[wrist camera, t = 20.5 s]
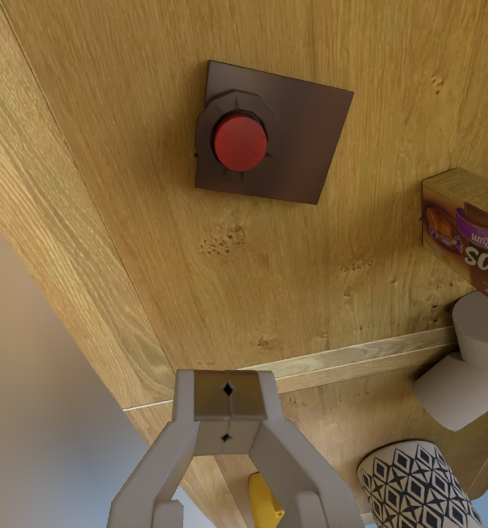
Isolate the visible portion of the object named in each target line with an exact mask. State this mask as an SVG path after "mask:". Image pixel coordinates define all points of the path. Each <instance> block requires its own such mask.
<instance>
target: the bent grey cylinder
mask: <svg viewBox="0 0 488 528" xmlns="http://www.w3.org/2000/svg"><path fill="white" fill-rule="evenodd" d="M452 318H453V322H454V326H455V330H456V335H457V339H458V343H459V347H460V351H459V352H452V353H450V354H448V355H447V356H446V357H445V358H443V359H442V360H441V361H440V362H438V363H437V364H436V365H435V366H433V367H432V368H431V369H430V370H428V371H427V372H426V373H425V374H424V375H422V376H421V377H420V378H419V379H417V380H416V381H415V382H414V383H413V391H414V393H415V395H416V397H417V399H418V400H419V402H420V403H421V405H422V406H423V407H424V408H425V410H426V411H427V412H428V413H429V414H430V415H431V416H432V417H433V418H434V419H435V420H436V421H437V422H439V423H440V424H441V425H443V426H444V427H446V428H447V429H449V430H452V431H458V430H460V429H461V428H463V427H464V426H466V425H467V424H469V423H470V422H472V421H473V420H475V419H476V418H478V417H479V416H481V415H482V414H484V413H485V412H487V411H488V297H486V296H485V295H484V294H483V293H481V292H480V291H475V292H472V293H470V294H467V295H465V296H464V297H462V298H461V299H460V300H459V301H458V302H457V303H456V304H455V306H454V308H453V312H452Z"/></svg>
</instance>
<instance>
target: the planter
mask: <svg viewBox="0 0 488 528" xmlns="http://www.w3.org/2000/svg"><path fill="white" fill-rule="evenodd" d="M357 473H358V477H359V480H360V483H361V485H362V488H363V491H364V493H365V496H366V499H367V501H368V504H369V507H370V509H371V512H372V515H373V517H374V520H375V522H376V525H377V528H486V526H485V525H484V523H483V521H482V520H481V518H480V517H479V515H478V513H477V512H476V510H475V508H474V507H473V505H472V503H471V502H470V500H469V498H468V497H467V495H466V493H465V492H464V490H463V488H462V487H461V485H460V484H459V482H458V480H457V479H456V477H455V475H454V474H453V472H452V470H451V469H450V467H449V466H448V464H447V462H446V461H445V459H444V457H443V456H442V454H441V453H440V451H439V449H438V448H437V446H435V445H434V444H432V443H430V442H426V441H420V440H410V441H403V442H398V443H394V444H391V445H388V446H385V447H383V448H381V449H379V450H377V451H375V452H373V453H372V454H370V455H369V456H368V457H366V458H365V459H364V460H363V462H362V463H361V464H360V466H359V468H358V471H357Z"/></svg>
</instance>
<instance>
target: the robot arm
mask: <svg viewBox="0 0 488 528" xmlns="http://www.w3.org/2000/svg"><path fill="white" fill-rule="evenodd" d="M220 454H249V457H250V459H251V460H252V462H253V463H254V465H255V466H256V468H257V470H258V471H259V473H260V474H261V476H262V478H263V479H264V481H265V482H266V484H267V485H268V487H269V489H270V490H271V492H272V493H273V495H274V496H275V498H276V500H277V501H278V503H279V504H280V506H281V508H282V509H283V511H284V512H285V513H284V515H283V517H282V518H281V520H280V522H279V523H278V525H277V526H276V528H365V527H364V524H363V522H362V519H361V516H360V513H359V510H358V508H357V505H356V502H355V499H354V496H353V494H352V491H351V488H350V486H349V485H348V484H347V483H346V482H345V481H344V480H343V478H342V477H341V476H340V475H339V474H338V473H337V472H336V471H335V470H334V468H333V467H332V466H331V465H330V464H329V463H328V462H327V461H326V460H325V458H324V457H323V456H322V455H321V454H320V453H319V452H318V451H317V450H316V449H315V447H314V446H313V445H312V444H311V443H310V442H309V441H308V440H307V439H306V437H305V436H304V435H303V434H302V433H301V432H300V431H299V430H298V429H297V427H296V426H295V425H294V424H293V423H292V422H291V421H290V420H287V419H285V418H284V414H283V410H282V406H281V402H280V398H279V394H278V390H277V386H276V382H275V378H274V374H273V373H272V371H255V370H225V371H217V370H193V369H177V372H176V380H175V389H174V399H173V409H172V422H168V423H167V424H166V426H165V427H164V429H163V430H162V432H161V433H160V434H159V436H158V437H157V439H156V440H155V441H154V443H153V444H152V446H151V447H150V449H149V450H148V451H147V453H146V454H145V456H144V457H143V459H142V460H141V461H140V463H139V464H138V466H137V467H136V468H135V470H134V471H133V473H132V474H131V475H130V477H129V478H128V480H127V481H126V482H125V484H124V485H123V487H122V488H121V490H120V491H119V492H118V494H117V495H116V497H115V498H114V499H113V501H112V503H111V508H110V513H109V518H108V523H107V528H183V505H182V504H181V503H180V502H179V501H178V500H171V499H172V497H173V495H174V493H175V491H176V489H177V487H178V485H179V483H180V482H181V480H182V478H183V476H184V474H185V472H186V470H187V468H188V466H189V465H190V463H191V461H192V459H193V456H205V455H220Z"/></svg>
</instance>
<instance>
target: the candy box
mask: <svg viewBox="0 0 488 528" xmlns="http://www.w3.org/2000/svg"><path fill="white" fill-rule="evenodd" d="M422 183H423V194H422V196H423V247H424V248H425V249H427V250H428V251H429V252H430V253H432V254H433V255H434V256H435V257H437V258H438V259H439V260H441V261H442V262H443V263H444V264H446V265H447V266H448V267H449V268H451V269H452V270H453V271H454V272H456V273H457V274H458V275H460V276H461V277H462V278H463V279H465V280H466V281H467V282H468V283H470V284H471V285H472V286H474V287H475V288H476V289H478V290H479V291H480V292H481V293H483V294H484V295H485V296H486V297H488V178H485V177H483V176H481V175H478V174H475V173H473V172H470V171H468V170H466V169H463V168H461V167H458V168H456V169H453V170H450V171H447V172H444V173H442V174H439V175H436V176H433V177H431V178H428V179H425V180H423V182H422Z"/></svg>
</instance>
